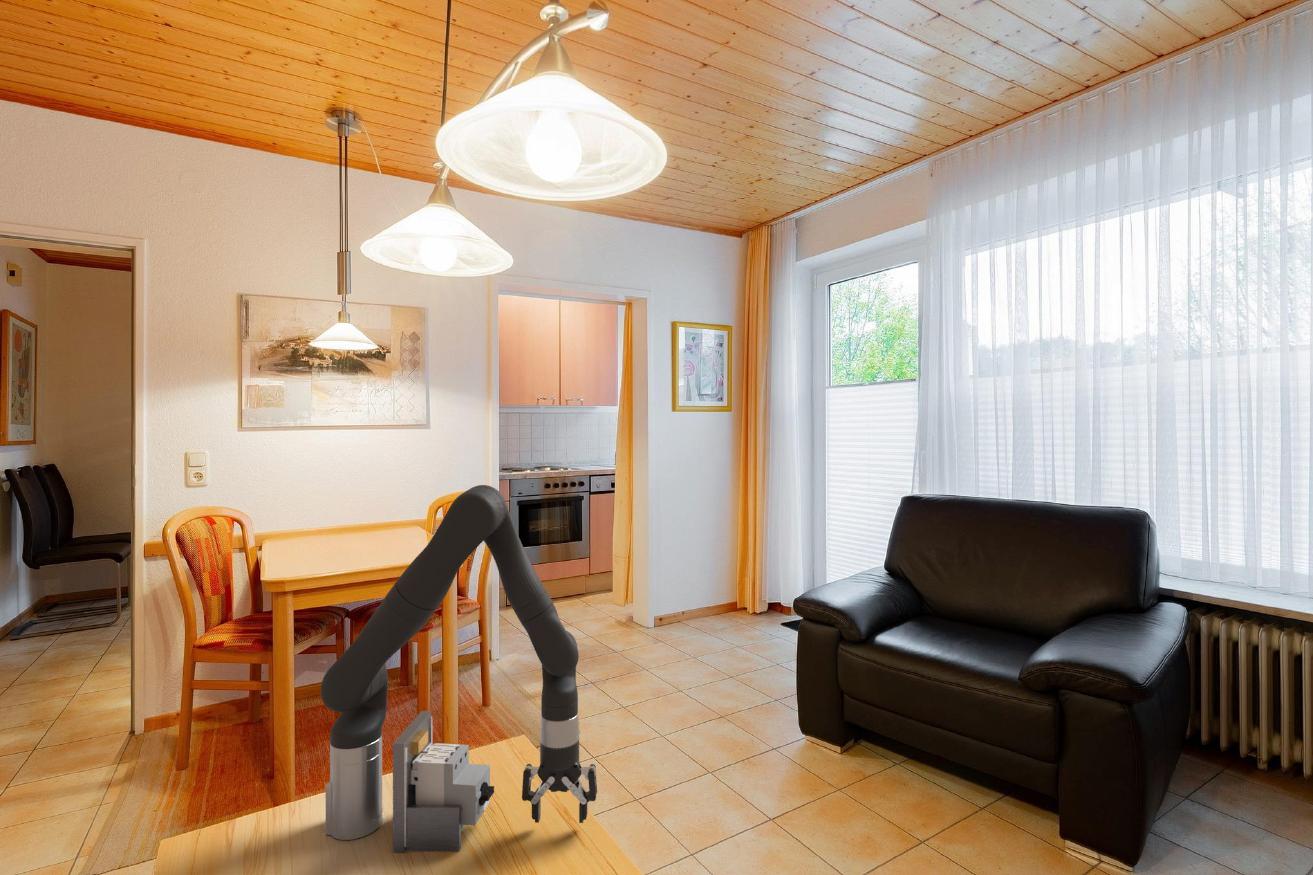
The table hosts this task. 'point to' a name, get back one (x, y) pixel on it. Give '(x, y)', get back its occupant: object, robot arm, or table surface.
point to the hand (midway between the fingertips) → (559, 820)
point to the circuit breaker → (452, 780)
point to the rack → (413, 821)
